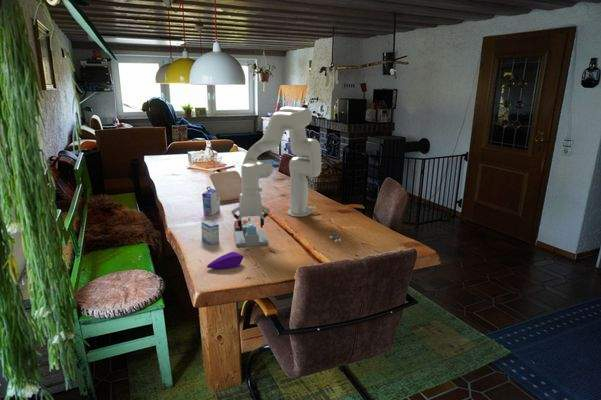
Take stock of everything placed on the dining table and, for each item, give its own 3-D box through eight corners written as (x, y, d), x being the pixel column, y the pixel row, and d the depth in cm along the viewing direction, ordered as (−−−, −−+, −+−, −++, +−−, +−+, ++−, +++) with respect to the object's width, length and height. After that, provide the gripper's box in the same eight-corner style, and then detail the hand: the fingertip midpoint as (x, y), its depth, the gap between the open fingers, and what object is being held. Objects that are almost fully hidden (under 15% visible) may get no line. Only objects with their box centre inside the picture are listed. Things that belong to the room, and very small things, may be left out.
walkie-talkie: (253, 234, 191) (251, 220, 210) (253, 225, 190) (251, 212, 209) (234, 235, 190) (234, 221, 209) (234, 226, 189) (234, 212, 207)
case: (221, 205, 234) (220, 178, 229) (204, 196, 249) (203, 171, 245) (250, 200, 246) (250, 174, 242) (233, 192, 262) (233, 168, 257)
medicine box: (201, 239, 182) (200, 221, 180) (210, 237, 185) (209, 219, 183) (211, 244, 177) (210, 226, 174) (219, 242, 180) (219, 224, 177)
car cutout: (325, 239, 188) (325, 230, 187) (337, 237, 191) (337, 228, 190) (341, 251, 175) (342, 241, 174) (354, 248, 178) (355, 239, 177)
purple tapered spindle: (204, 258, 154) (240, 248, 160) (206, 270, 156) (242, 259, 162) (207, 263, 150) (245, 253, 156) (209, 275, 151) (246, 264, 158)
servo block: (253, 235, 189) (253, 219, 187) (256, 243, 179) (256, 227, 177) (245, 235, 188) (245, 219, 186) (247, 244, 178) (247, 227, 176)
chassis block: (263, 232, 192) (263, 223, 191) (268, 244, 178) (268, 235, 177) (234, 234, 189) (234, 225, 188) (236, 246, 175) (236, 237, 174)
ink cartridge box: (211, 209, 225) (210, 184, 220) (220, 210, 223) (219, 185, 219) (202, 214, 215) (201, 188, 211) (211, 216, 214) (211, 189, 210)
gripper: (268, 188, 183) (268, 223, 188) (230, 189, 179) (231, 225, 184) (271, 192, 176) (271, 229, 181) (231, 194, 172) (232, 231, 177)
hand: (251, 227), depth 182 cm, fingers open, 9 cm apart
